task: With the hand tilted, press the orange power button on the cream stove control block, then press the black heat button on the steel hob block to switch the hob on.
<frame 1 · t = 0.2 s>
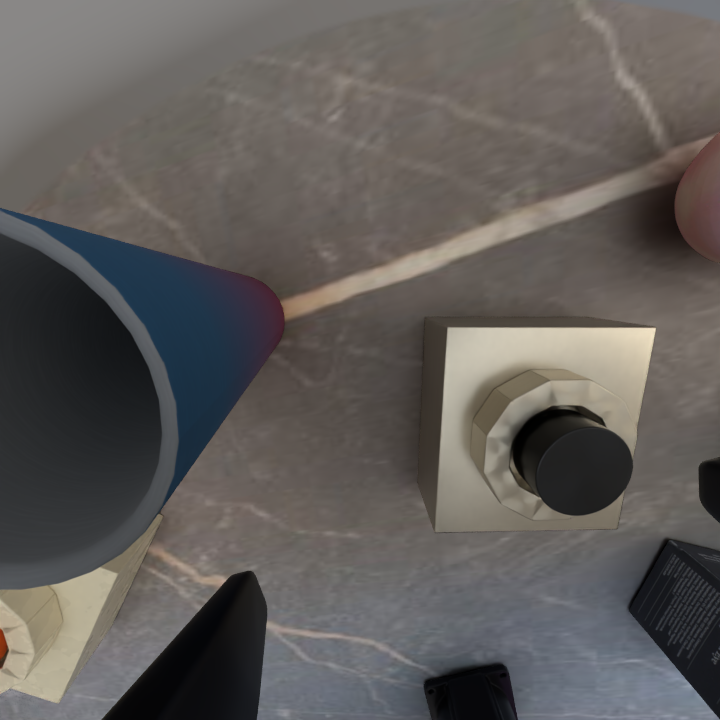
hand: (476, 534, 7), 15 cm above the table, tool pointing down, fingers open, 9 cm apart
cup: (242, 319, 20), on the table
small box: (718, 591, 26), on the table
heat button: (569, 460, 15), point 7 cm above the table, slide at 0.1 cm
decorative fruit: (696, 205, 20), on the table
power block: (64, 545, 23), on the table
hob block: (499, 404, 22), on the table
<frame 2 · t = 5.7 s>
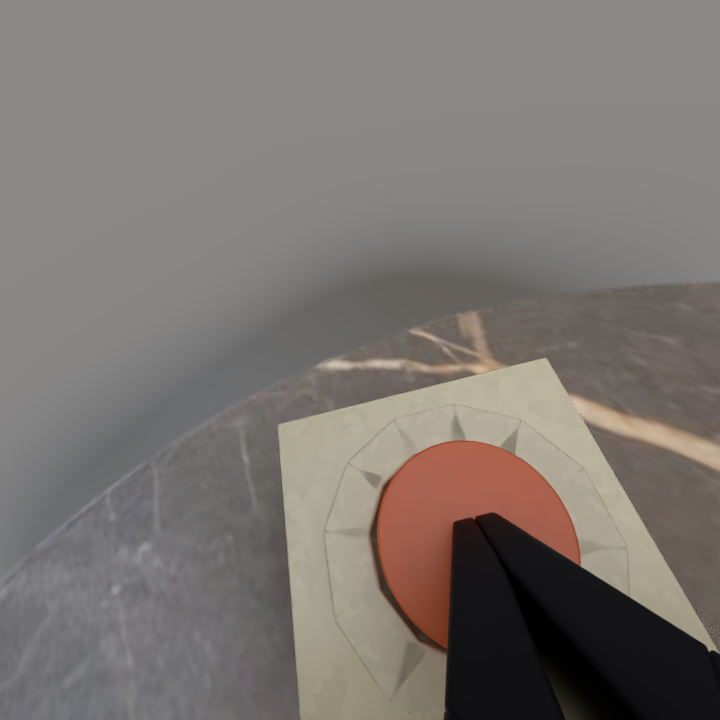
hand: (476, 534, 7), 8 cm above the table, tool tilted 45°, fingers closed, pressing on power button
power button: (467, 538, 8), point 7 cm above the table, slide at -0.1 cm, touching gripper
power block: (447, 550, 14), on the table
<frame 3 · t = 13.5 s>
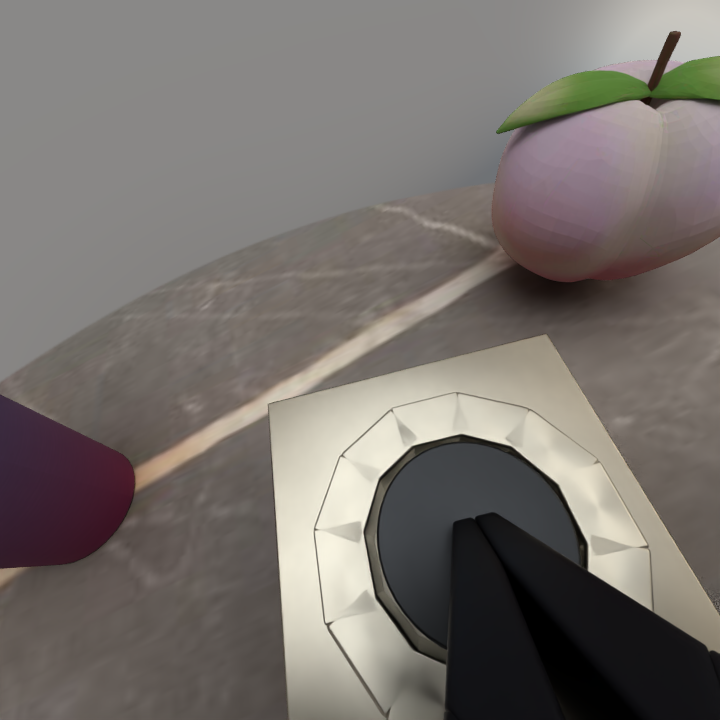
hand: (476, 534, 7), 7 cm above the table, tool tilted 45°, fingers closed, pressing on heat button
cup: (87, 503, 16), on the table
heat button: (467, 539, 8), point 6 cm above the table, slide at -1.0 cm, touching gripper
decorative fruit: (559, 269, 19), on the table
hob block: (449, 550, 13), on the table
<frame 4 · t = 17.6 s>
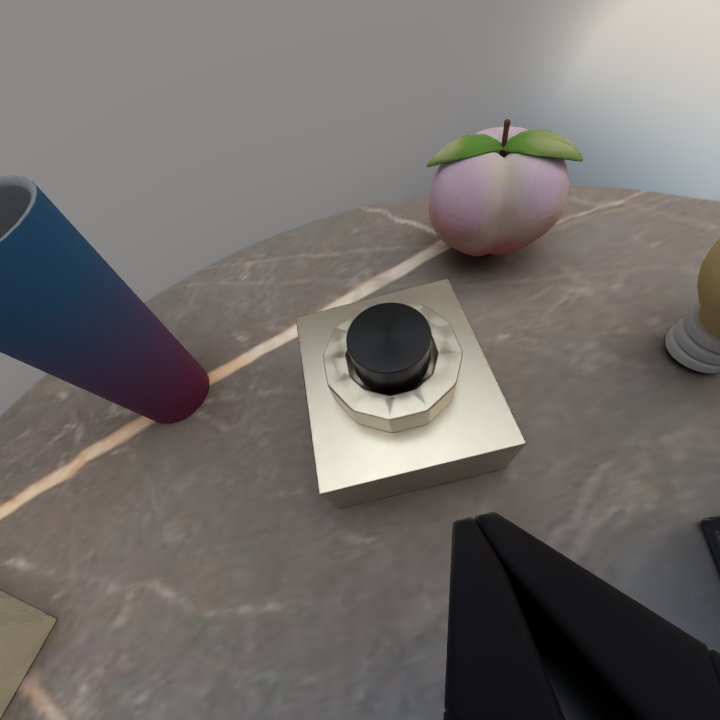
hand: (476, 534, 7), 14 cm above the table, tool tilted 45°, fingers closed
cup: (179, 393, 26), on the table
heat button: (389, 346, 17), point 7 cm above the table, slide at 0.1 cm
light bulb: (692, 353, 22), on the table
decorative fruit: (481, 250, 29), on the table
hob block: (397, 404, 23), on the table
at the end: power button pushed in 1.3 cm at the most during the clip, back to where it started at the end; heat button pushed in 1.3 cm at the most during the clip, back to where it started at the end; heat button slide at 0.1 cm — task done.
